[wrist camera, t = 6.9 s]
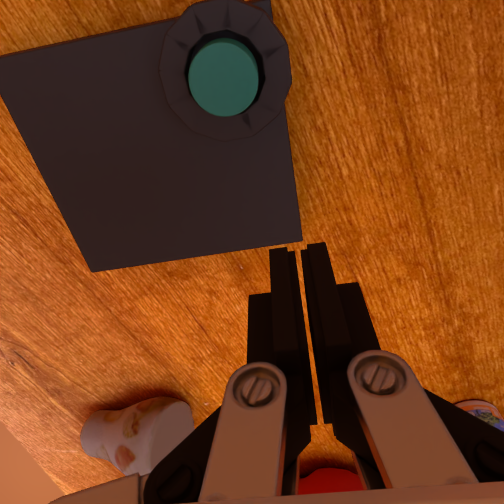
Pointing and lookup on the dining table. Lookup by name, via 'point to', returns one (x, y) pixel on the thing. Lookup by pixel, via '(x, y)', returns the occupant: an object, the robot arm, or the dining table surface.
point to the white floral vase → (137, 433)
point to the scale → (159, 138)
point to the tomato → (329, 481)
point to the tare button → (223, 77)
